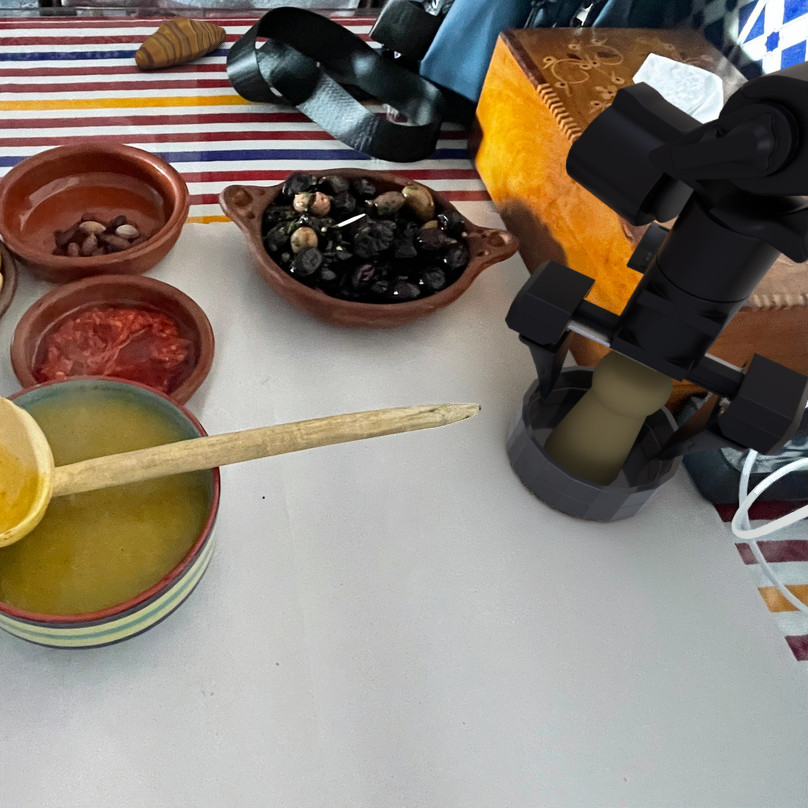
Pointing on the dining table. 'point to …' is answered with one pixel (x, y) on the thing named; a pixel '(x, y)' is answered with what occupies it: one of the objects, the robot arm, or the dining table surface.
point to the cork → (608, 418)
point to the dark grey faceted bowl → (570, 491)
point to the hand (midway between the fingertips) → (601, 424)
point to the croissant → (179, 43)
